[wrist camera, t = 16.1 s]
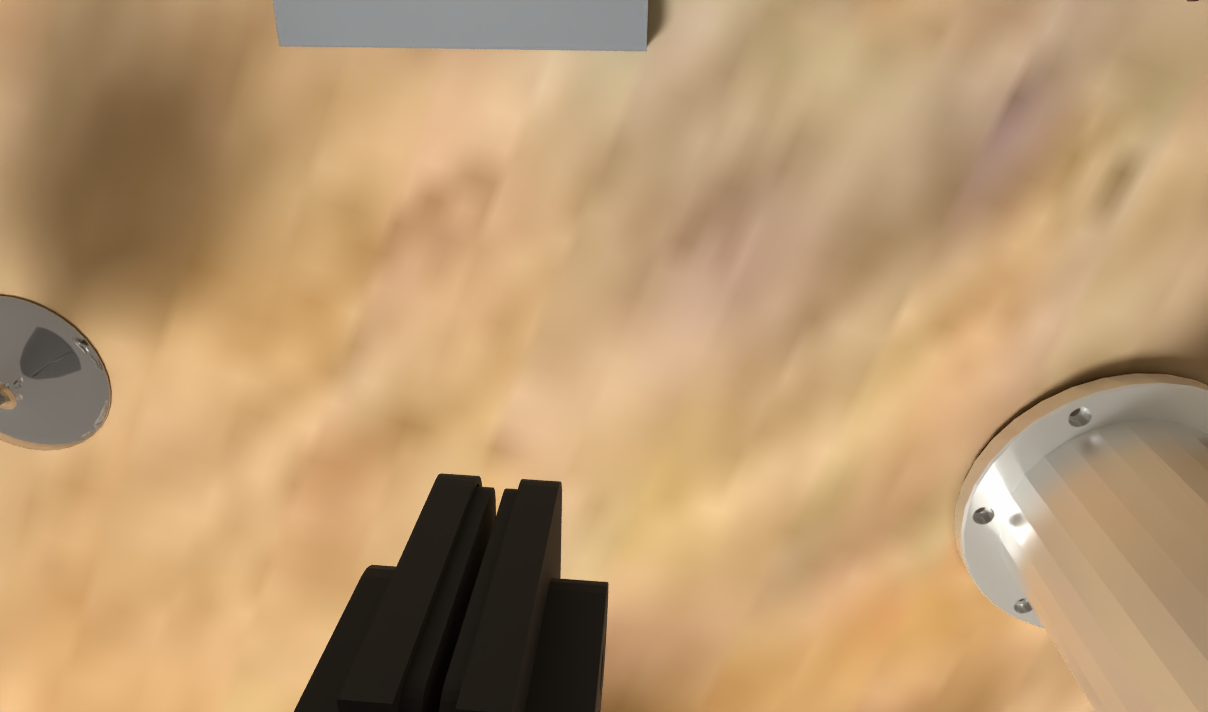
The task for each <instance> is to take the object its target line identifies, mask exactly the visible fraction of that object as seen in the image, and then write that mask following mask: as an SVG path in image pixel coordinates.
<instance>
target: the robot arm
mask: <svg viewBox="0 0 1208 712" xmlns="http://www.w3.org/2000/svg"><path fill="white" fill-rule="evenodd" d="M561 516H562V484H561V482H558V481H543V480H528V479H522V480H521V481H520V484H519V487H518V489H505V490H504V493H503V496H502V499H501V502H500V505H499V509H498V512H497V515H496V500H495V490H494V488H491V487H482V482H481V478H480V477H479V476H470V475H455V474H439V475H438V476H437V478H436V480H435V482H434V485H433V487H432V489H431V491H430V494H429V496H428V498H427V500H426V502H425V505H424V507H423V509H422V511H421V514H420V516H419V518H418V520H417V522H416V525H415V527H414V529H413V531H412V534H411V536H410V538H409V540H408V542H407V545H406V547H405V549H404V551H403V554H402V556H401V558H400V560H399V562H398V565H397V567H393V566H380V565H371V566H369V567H368V568H367V569H366V570H365V572H364V573H363V575H362V576H361V578H360V580H359V582H358V584H357V586H356V588H355V590H354V592H353V594H352V596H351V598H350V600H349V602H348V604H347V606H346V608H345V610H344V612H343V614H342V616H341V618H340V620H339V622H338V624H337V626H336V628H335V630H334V632H333V634H332V636H331V638H330V640H329V642H328V644H327V646H326V648H325V650H324V652H323V654H322V656H321V658H320V660H319V662H318V664H317V666H316V668H315V670H314V672H313V674H312V676H311V678H310V680H309V682H308V684H307V686H306V688H305V690H304V692H303V694H302V696H301V698H300V700H299V702H298V704H297V706H296V708H295V710H294V712H600V709H601V698H602V687H603V674H604V661H605V646H606V628H607V608H608V582H597V581H584V580H570V579H560V571H561ZM954 533H955V538H956V543H957V549H958V553H959V555H960V557H961V559H962V561H963V563H964V565H965V567H966V569H967V572H968V574H969V575H970V577H971V578H972V580H973V581H974V583H975V585H976V586H977V588H978V589H979V591H980V592H981V593H982V594H983V595H984V596H985V597H986V598H987V599H988V600H989V601H990V602H992V603H993V604H994V605H995V606H996V607H997V608H999V609H1000V610H1002V611H1004V612H1005V613H1007V614H1008V615H1010V616H1012V617H1014V618H1016V619H1018V620H1021V621H1024V622H1027V623H1030V624H1032V625H1035V626H1038V627H1043V628H1045V630H1046V631H1047V633H1048V635H1049V636H1050V638H1051V640H1052V641H1053V643H1054V645H1055V646H1056V648H1057V650H1058V651H1059V653H1060V655H1061V656H1062V658H1063V660H1064V661H1065V663H1066V665H1067V666H1068V668H1069V670H1070V671H1071V673H1072V675H1073V676H1074V678H1075V680H1076V681H1077V683H1078V685H1079V686H1080V688H1081V690H1082V691H1083V693H1084V695H1085V696H1086V698H1087V700H1088V701H1089V703H1090V705H1091V706H1092V708H1093V710H1094V711H1095V712H1208V385H1206V384H1204V383H1201V382H1199V381H1196V380H1193V379H1188V378H1183V377H1178V376H1173V375H1168V374H1139V373H1134V374H1127V375H1120V376H1113V377H1106V378H1101V379H1098V380H1094V381H1091V382H1088V383H1084V384H1081V385H1078V386H1074V387H1071V388H1069V389H1067V390H1065V391H1063V392H1060V393H1058V394H1056V395H1054V396H1052V397H1050V398H1048V399H1045V400H1043V401H1041V402H1040V403H1038V404H1037V405H1035V406H1034V407H1032V408H1031V409H1029V410H1028V411H1026V412H1025V413H1023V414H1022V415H1020V416H1018V417H1017V418H1015V419H1014V420H1013V421H1012V422H1011V423H1010V424H1009V425H1008V426H1006V427H1005V428H1004V429H1003V430H1002V431H1001V432H1000V433H999V434H998V435H997V436H995V437H994V438H993V439H992V440H991V442H990V443H989V444H988V445H987V447H986V448H985V449H984V450H983V452H982V453H981V454H980V455H979V457H978V458H977V459H976V460H975V462H974V464H973V466H972V467H971V469H970V471H969V473H968V475H967V477H966V479H965V481H964V482H963V484H962V487H961V491H960V494H959V498H958V501H957V504H956V508H955V523H954Z"/></svg>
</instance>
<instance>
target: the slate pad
mask: <svg viewBox="0 0 1208 712" xmlns="http://www.w3.org/2000/svg"><path fill="white" fill-rule="evenodd" d="M273 5H274V11H275V18H276V25H277V32H278V38H279V45H280V46H300V47H373V48H445V49H518V50H590V51H647V21H648V0H273Z"/></svg>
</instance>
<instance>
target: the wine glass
mask: <svg viewBox="0 0 1208 712" xmlns="http://www.w3.org/2000/svg"><path fill="white" fill-rule="evenodd" d="M110 402H111V390H110V383H109V378H108V375H107V373H106V370H105V367H104V365H103V363H102V361H101V359H100V357H99V356H98V354H97V352H96V351H95V349H94V348H93V347H92V345H91V344H90V343H89V342H88V340H87V339H86V338H85V337H84V336H83V335H82V334H81V333H80V332H79V331H78V330H77V329H76V328H75V327H74V326H73V325H71V324H70V323H69V322H67V321H66V320H65V319H63V318H62V317H61V316H59V315H57V314H55V313H54V312H52V311H50V310H49V309H47V308H45V307H43V306H40V305H38V304H35V303H33V302H30V301H27V300H24V299H20V298H16V297H12V296H3V295H0V440H2V441H4V442H7V443H10V444H12V445H15V446H19V447H23V448H28V449H35V450H59V449H64V448H69V447H73V446H75V445H78V444H80V443H83V442H84V441H86V440H87V439H89V438H90V437H92V436H93V435H94V434H95V433H96V432H97V431H98V430H99V429H100V428H101V427H102V425H103V423H104V421H105V419H106V418H107V415H108V412H109V408H110Z"/></svg>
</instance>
